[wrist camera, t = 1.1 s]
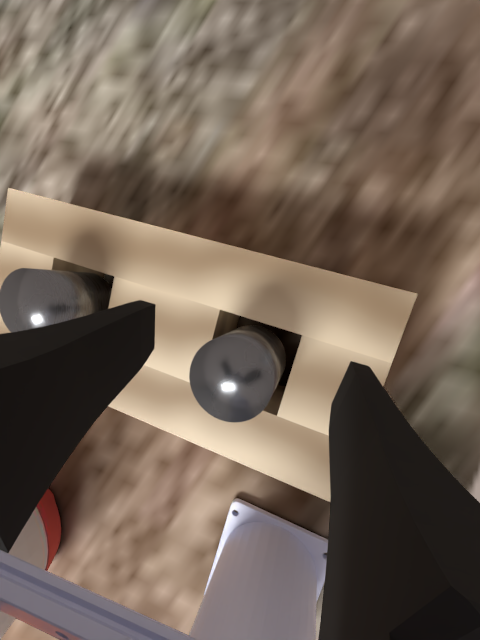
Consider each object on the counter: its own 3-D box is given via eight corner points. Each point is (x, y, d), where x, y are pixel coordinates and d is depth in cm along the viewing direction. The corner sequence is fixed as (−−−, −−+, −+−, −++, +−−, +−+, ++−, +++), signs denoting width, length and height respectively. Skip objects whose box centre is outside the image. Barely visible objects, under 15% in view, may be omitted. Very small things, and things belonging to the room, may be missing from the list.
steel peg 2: (275, 400, 18) (259, 435, 14) (213, 377, 19) (180, 404, 15) (294, 336, 17) (284, 352, 13) (230, 316, 18) (200, 325, 14)
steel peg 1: (107, 338, 21) (49, 351, 16) (61, 320, 22) (-6, 328, 17) (119, 281, 20) (61, 279, 16) (70, 266, 21) (3, 259, 17)
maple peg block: (335, 457, 21) (338, 506, 17) (46, 342, 27) (-14, 353, 22) (394, 292, 19) (417, 293, 15) (68, 207, 25) (8, 187, 20)
